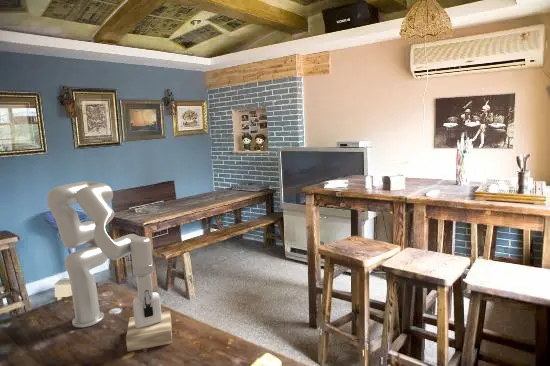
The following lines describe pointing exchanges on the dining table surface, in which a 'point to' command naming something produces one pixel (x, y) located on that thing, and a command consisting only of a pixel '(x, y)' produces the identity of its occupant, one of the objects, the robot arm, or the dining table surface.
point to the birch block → (149, 334)
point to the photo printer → (139, 311)
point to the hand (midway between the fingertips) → (148, 312)
